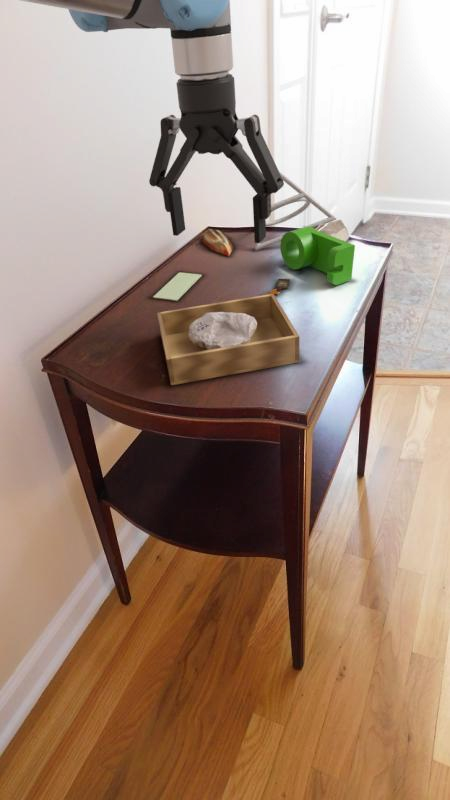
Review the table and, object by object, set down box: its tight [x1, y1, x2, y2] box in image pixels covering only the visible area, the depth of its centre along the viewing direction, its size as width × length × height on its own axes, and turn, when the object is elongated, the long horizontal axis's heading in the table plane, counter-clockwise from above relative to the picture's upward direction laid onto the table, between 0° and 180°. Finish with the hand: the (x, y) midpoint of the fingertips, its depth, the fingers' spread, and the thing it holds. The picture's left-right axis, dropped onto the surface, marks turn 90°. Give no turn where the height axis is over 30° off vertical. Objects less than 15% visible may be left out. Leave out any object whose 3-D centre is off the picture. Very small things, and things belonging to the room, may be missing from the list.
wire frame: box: [254, 169, 338, 251], centre depth 120 cm, size 18×13×16 cm
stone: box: [319, 219, 350, 242], centre depth 113 cm, size 12×5×3 cm, turn 136°
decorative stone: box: [201, 228, 234, 257], centre depth 118 cm, size 14×6×2 cm, turn 25°
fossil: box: [189, 312, 257, 350], centre depth 83 cm, size 9×6×10 cm
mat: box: [152, 272, 203, 302], centre depth 104 cm, size 11×5×1 cm, turn 157°
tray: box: [156, 293, 300, 386], centre depth 83 cm, size 19×14×4 cm
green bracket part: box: [279, 225, 356, 286], centre depth 102 cm, size 15×7×5 cm
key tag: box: [264, 278, 291, 295], centre depth 99 cm, size 8×3×1 cm, turn 152°
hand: (218, 236), depth 83 cm, fingers open, 13 cm apart
